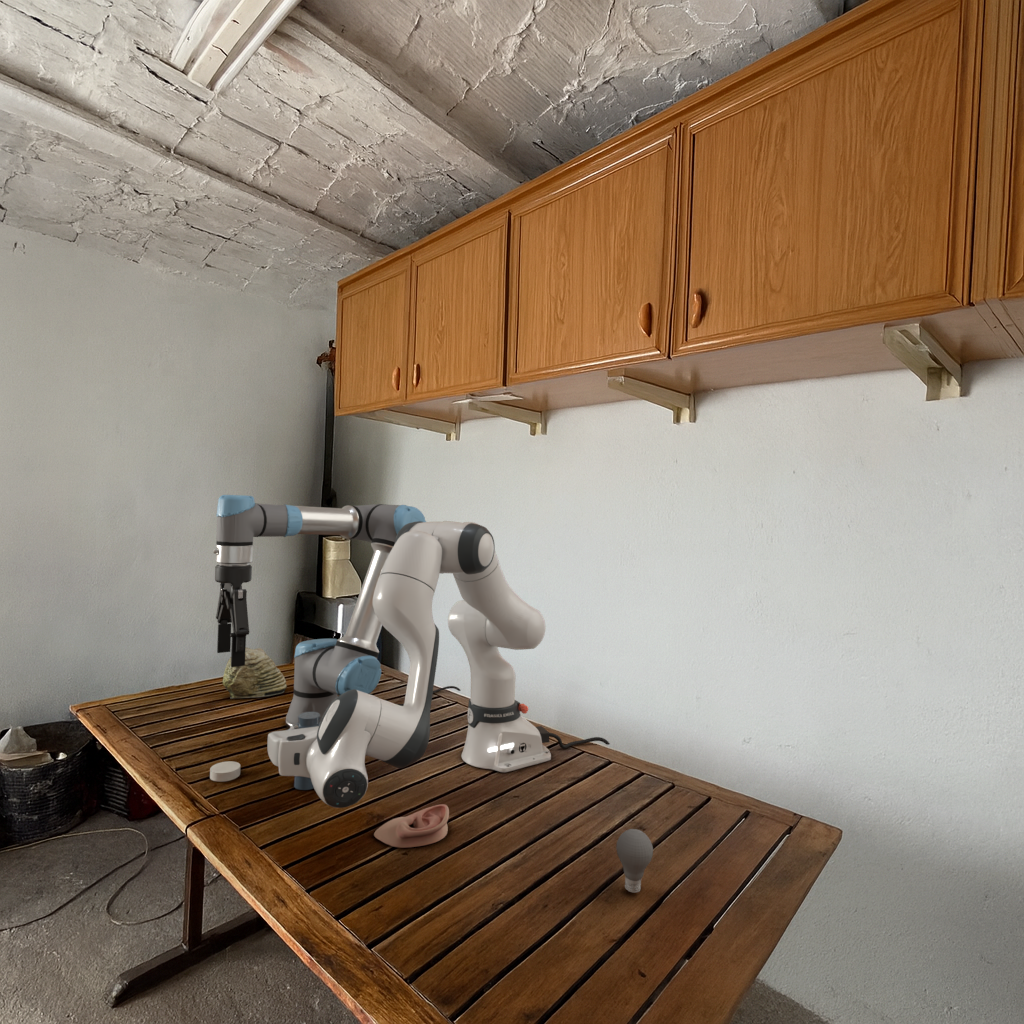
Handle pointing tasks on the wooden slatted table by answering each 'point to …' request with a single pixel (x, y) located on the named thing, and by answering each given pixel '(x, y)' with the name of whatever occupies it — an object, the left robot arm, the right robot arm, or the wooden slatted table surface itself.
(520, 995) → the wooden slatted table surface
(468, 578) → the right robot arm
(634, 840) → the light bulb
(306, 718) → the jar
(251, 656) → the fossil
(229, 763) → the lid
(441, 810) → the anatomical model
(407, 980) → the wooden slatted table surface
